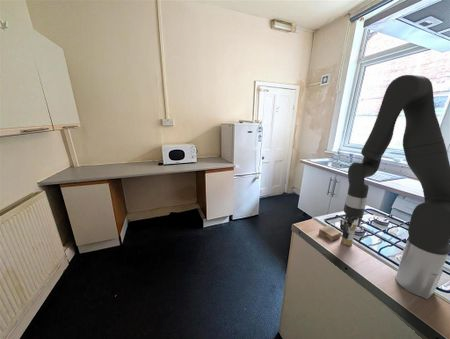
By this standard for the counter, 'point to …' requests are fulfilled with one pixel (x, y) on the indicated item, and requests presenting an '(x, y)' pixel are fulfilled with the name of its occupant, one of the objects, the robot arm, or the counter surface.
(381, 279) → the counter surface
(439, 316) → the counter surface
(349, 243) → the sprinkles bottle
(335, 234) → the walnut block
